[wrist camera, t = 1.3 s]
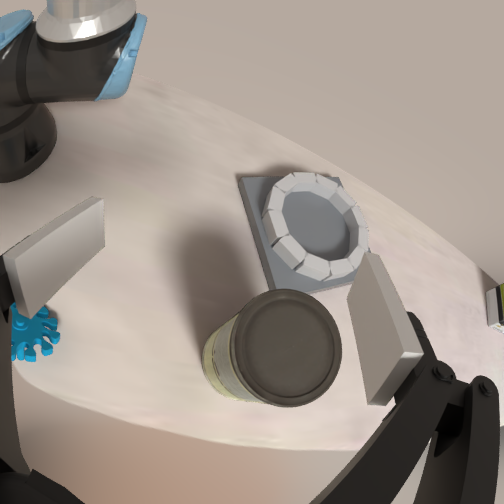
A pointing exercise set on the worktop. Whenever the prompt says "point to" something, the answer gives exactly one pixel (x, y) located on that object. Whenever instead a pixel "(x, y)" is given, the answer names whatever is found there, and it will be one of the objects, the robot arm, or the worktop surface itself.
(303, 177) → the housing
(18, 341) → the gear
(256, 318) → the coffee can
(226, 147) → the worktop surface
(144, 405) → the worktop surface
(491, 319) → the tea box
